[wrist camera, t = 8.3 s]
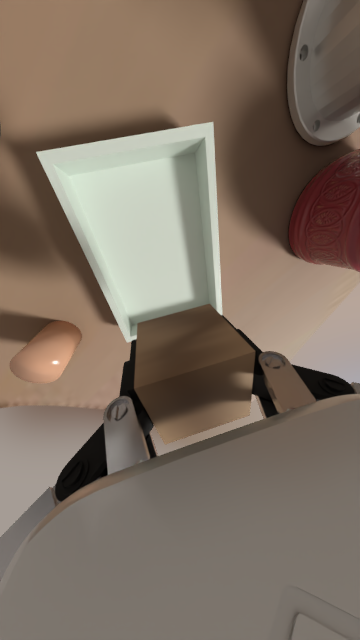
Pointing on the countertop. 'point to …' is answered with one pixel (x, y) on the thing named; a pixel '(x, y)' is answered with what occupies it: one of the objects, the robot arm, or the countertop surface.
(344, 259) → the canister
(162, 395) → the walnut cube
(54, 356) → the tan rounded-top part
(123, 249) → the box
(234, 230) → the countertop surface
